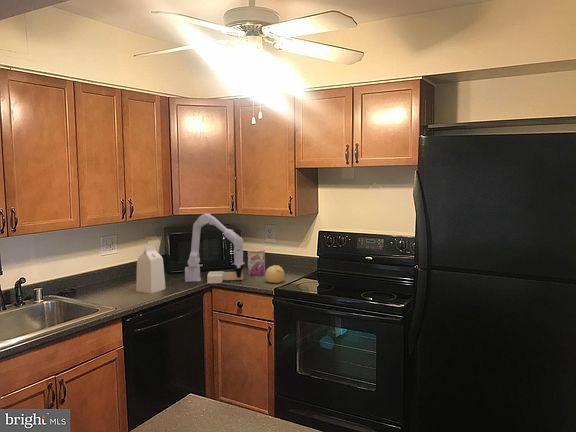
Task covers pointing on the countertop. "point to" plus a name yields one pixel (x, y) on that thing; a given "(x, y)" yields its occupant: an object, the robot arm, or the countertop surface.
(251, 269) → the candy bar box
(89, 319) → the countertop surface
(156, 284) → the milk
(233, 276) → the thin wooden plank
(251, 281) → the countertop surface
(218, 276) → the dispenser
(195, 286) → the countertop surface
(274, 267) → the beige round lump
